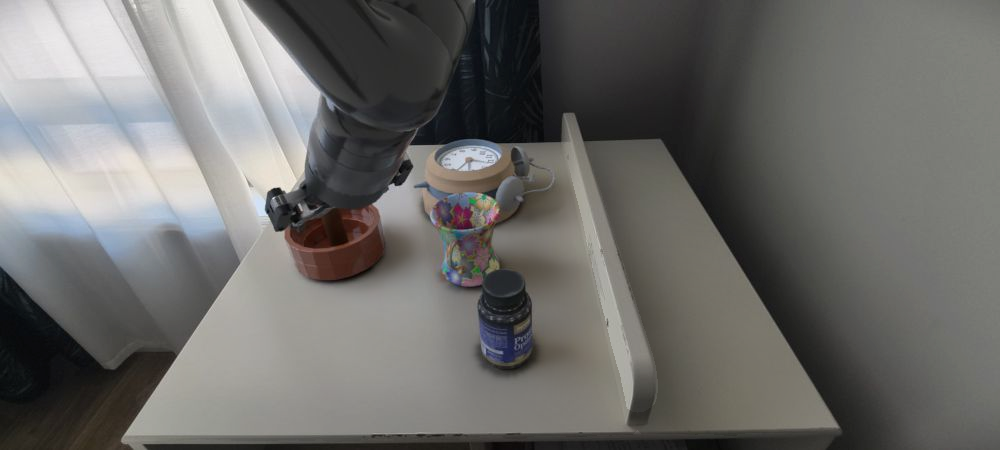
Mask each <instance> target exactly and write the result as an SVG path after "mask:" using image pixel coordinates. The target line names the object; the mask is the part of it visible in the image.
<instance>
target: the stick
mask: <svg viewBox="0 0 1000 450" xmlns="http://www.w3.org/2000/svg"><path fill="white" fill-rule="evenodd" d="M321 206H322V205H318V208H319V207H321ZM321 218H322V221H323V224H324V227H325V231H326V234H327V237H328V240H329V244H330V247H335V246H339V245H344V244H346V243H348V242H349V240H348V236H347V232H346V229H345V225H344V222H343V218H342V214H341V211H340V208H334V209H332V210H331V211H329V212H328V213H326V214H325V215H323V216H322V217H321Z"/></svg>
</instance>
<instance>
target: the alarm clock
mask: <svg viewBox="0 0 1000 450" xmlns="http://www.w3.org/2000/svg"><path fill="white" fill-rule="evenodd" d="M533 161H534V157H532V156H531V157H529V156H528V154H527V151H526V150H525V149H524V148H523V147H522V146H519V145H515V146H512V147H511V150H510V151H509V150H508V149H506V148H505V147H504V146H502V145H501V144H498V143H496V142H493V141H490V140H485V139H478V138H474V139H473V138H472V139H471V138H470V139H469V138H468V139H459V140H455V141H452V142H449V143H447V144H444V145H442V146H440V147H439V148H437V149H435V150H434V151H432V152H431V153H430V154H429V156H428V157H427V159H426V162H425V164H426V167H425V170H424V172H423V173H424V174H423V175H424V180H425V181H423V182H420V183H416V184H414V185H413V189H422V200H423V201H422V202H423V207H424V212H425V213H426V214H427V215H428V217H429V218H430V219H431V217H430V213H431V209H432V208H433V206H434V205H435V204H436V203H437V202H438V201H440V200H441V199H443V198H445V197H447V196H450V195H453V194H458V193H465V192H473V193H480V194H484V195H487V196H489V197H491V198H493V199H494V200H495V201H496V202H497V203H498V205H499V207H500V214H499V217H498V219H497V221H496V223H495V225H496V224H500V223H501V222H504V221H506V220H507V219H508V218H510V217H511V216H512V215H513V214H514V213H515V212H517V210H518V208H519V206H520V204H521V203H523V202H524V198H523V197H524V196H526V195H529V194H532V193H533V194H534V193H544V192H547V191H549V190H550V189H552V188H553V186H554V184H555V182H556V173H555V171H554V170H553V169H552V168H550V167H548V166H544V165H543V166H542V165H537V164H535V163H533ZM530 165H531V166H532V167H534V168H537V169H541V170H545V171H548V172H550V173H551V174H552V181H551V183H550V185H549V186H547V187H545V188H541V189H531V190H527V191H525V186H524V183H523V182H522V180H523V181H524V180H528V183H529V184H533V182H534V177H535V174H534V173H531V174H530V170H531V166H530ZM529 174H530V176H529Z"/></svg>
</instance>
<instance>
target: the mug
mask: <svg viewBox="0 0 1000 450" xmlns="http://www.w3.org/2000/svg"><path fill="white" fill-rule="evenodd" d="M499 214H500V207H499V205H498V203H497V202H496V201H495V200H494V199H493V198H491V197H489V196H487V195H484V194H480V193H473V192H465V193H458V194H453V195H450V196H447V197H445V198H443V199H441V200H440V201H438V202H437V203H436V204H435V205H434V206H433V208H432V209H431V213H430V217H431V218H430V217H429V218H430V221H431V223H432V224H433V225H434V227H436V229H437V231H438V232H439V234H440V236H441V239H442V242H443V247H444V257H443V260H442V262H441V267H440V270H441V274H442V276H443V277H444V279H446V281H448V282H449V283H450V284H453V285H455V286H459V287H463V288H464V287H466V288H470V287H471V288H472V287H478V286H482V282H483V279H484V277H485V276H486V275H487V274H488V273H490V272H492V271H494V270H497V269H501V262H500V259H499V257H498V255H496V252H495V250H494V246H493V236H494V230H495V226H496V224H497V223H496V221H497V219H498V217H499ZM495 223H496V224H495Z"/></svg>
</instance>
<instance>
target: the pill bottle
mask: <svg viewBox="0 0 1000 450" xmlns="http://www.w3.org/2000/svg"><path fill="white" fill-rule="evenodd" d="M481 287H482V291H481V292H482V293H481V294H480V295H479V298H478V300H477V315H478V326H479V328H478V329H479V337H480V346H481V347H480V348H481V354H482V356H483V358H484V360H485V361H486V363H488V364H489V365H491V366H492V367H494V368H497V369H500V370H514V369H517V368H520V367H521V366H523V365H524V364H526V363H527V361H528V360H529V359H530V358H531V355H532V352H533V300H532V298H531V296H530V294H529V292H528V291H527V290H526V289H527V288H526V287H527V286H526V279H525V277H524V275H522V273H520V272H519V271H517V270H515V269H512V268H499V269H497V270H494V271H492V272H490V273H488V274H487V275H486V276H485V277H484V279H483V282H482V285H481Z"/></svg>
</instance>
